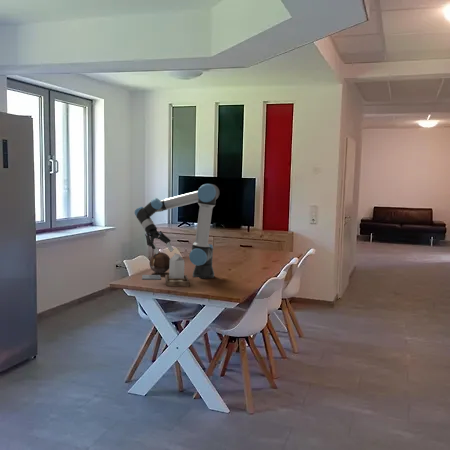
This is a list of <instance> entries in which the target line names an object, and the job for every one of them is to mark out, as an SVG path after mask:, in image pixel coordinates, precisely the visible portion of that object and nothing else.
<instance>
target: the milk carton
mask: <svg viewBox="0 0 450 450" xmlns="http://www.w3.org/2000/svg"><path fill="white" fill-rule="evenodd" d="M173 254H174V255H172V256H171V258H170V264H169V269H168V272H169V273H168V275H169V278H184V275H185V259H184V258H183V256H182V255H181V254H179V253H176V252H174V253H173Z"/></svg>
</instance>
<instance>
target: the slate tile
mask: <svg viewBox="0 0 450 450" xmlns="http://www.w3.org/2000/svg"><path fill="white" fill-rule="evenodd" d="M161 279H162V278H161V274H142V275H141V280H142V281H143V280H146V281H147V280H148V281H151V280H155V281H157V280H158V281H159V280H161Z"/></svg>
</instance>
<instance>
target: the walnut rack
mask: <svg viewBox="0 0 450 450" xmlns="http://www.w3.org/2000/svg"><path fill="white" fill-rule="evenodd" d="M164 280H165V287H190V281H189V280H190V279H189V278H188V275H186V274H184V278H169V274H165V278H164ZM171 280H183V281H171Z"/></svg>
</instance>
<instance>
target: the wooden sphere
mask: <svg viewBox="0 0 450 450" xmlns="http://www.w3.org/2000/svg"><path fill="white" fill-rule="evenodd" d="M149 258H150V259H149V267H150V269H151V270H152V271H153V272H154V273H156V274H165V273H166V272H168V271H169V264H170V259H171V258H170V256H169V255H168V254H166V253H165V252H162V251H159V252H158V254H156V253H155V252H154V254H152V255H151V257H149Z"/></svg>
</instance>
